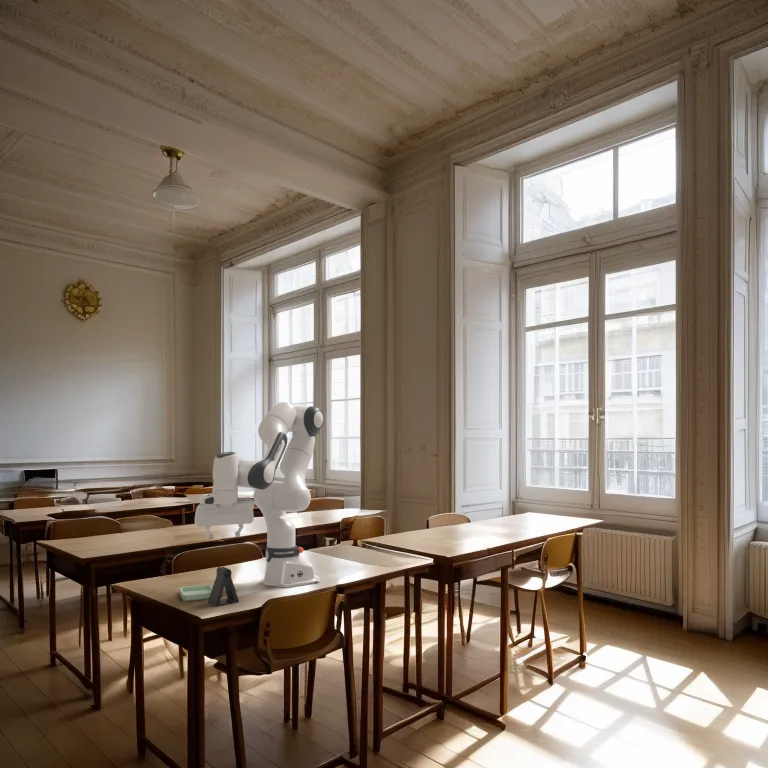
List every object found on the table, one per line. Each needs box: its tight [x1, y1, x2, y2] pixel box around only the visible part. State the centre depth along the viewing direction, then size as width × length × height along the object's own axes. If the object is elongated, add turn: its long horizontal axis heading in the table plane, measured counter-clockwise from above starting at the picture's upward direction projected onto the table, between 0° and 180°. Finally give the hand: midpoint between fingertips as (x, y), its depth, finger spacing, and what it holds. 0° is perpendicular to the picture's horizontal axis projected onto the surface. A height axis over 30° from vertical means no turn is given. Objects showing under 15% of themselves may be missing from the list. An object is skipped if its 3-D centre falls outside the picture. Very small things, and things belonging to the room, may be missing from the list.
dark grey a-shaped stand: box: [207, 566, 240, 607], centre depth 226 cm, size 9×6×12 cm, turn 127°
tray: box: [179, 583, 213, 603], centre depth 235 cm, size 11×13×2 cm
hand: (224, 537), depth 227 cm, fingers open, 8 cm apart
